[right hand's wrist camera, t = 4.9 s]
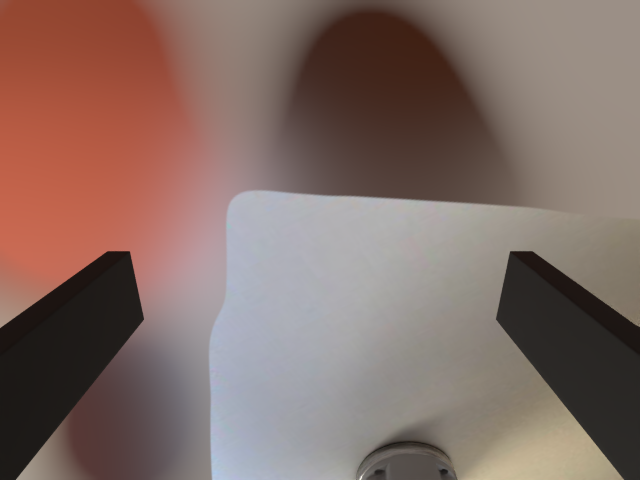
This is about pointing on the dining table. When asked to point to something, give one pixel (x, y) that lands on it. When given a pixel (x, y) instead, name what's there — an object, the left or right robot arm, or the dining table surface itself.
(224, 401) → the dining table surface
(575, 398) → the right robot arm
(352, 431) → the dining table surface
